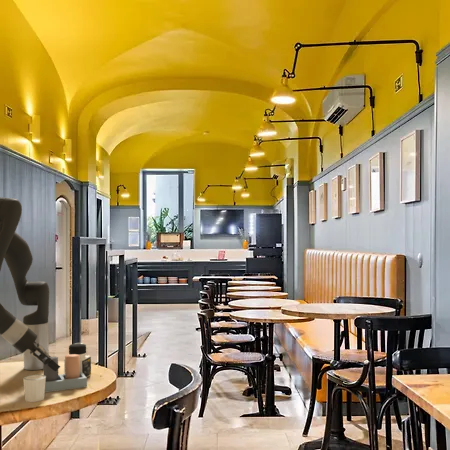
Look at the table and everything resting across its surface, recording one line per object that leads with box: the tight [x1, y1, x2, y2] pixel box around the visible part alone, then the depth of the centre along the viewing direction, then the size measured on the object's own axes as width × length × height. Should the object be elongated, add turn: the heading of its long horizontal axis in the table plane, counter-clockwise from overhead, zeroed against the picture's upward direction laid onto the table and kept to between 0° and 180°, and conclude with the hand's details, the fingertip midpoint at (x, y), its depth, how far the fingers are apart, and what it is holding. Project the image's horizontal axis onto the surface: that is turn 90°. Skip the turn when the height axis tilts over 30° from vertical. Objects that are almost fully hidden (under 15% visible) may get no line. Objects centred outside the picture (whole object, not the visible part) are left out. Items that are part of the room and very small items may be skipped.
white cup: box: [22, 374, 46, 403], centre depth 182 cm, size 7×7×7 cm
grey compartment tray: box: [45, 354, 88, 393], centre depth 196 cm, size 9×15×10 cm, turn 114°
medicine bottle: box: [63, 342, 92, 378], centre depth 208 cm, size 7×7×12 cm
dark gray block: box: [42, 356, 59, 382], centre depth 195 cm, size 5×5×10 cm
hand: (56, 366), depth 196 cm, fingers open, 6 cm apart
